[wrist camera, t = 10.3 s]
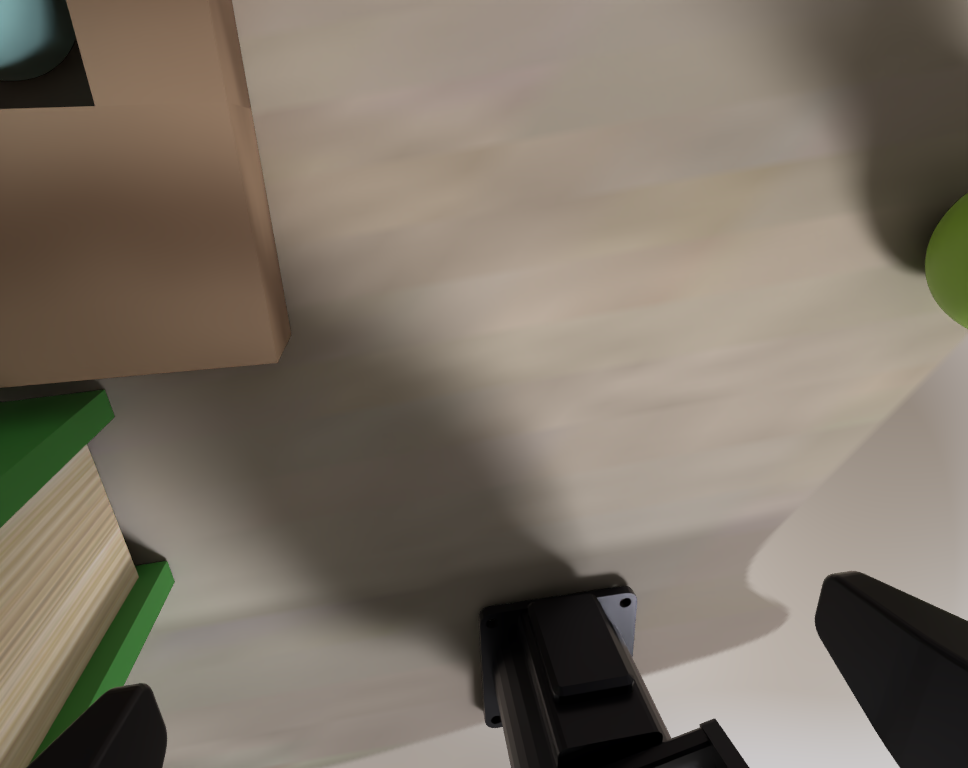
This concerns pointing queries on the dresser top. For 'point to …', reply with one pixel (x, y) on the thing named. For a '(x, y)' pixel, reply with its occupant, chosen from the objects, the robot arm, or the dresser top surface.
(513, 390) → the dresser top surface
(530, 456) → the dresser top surface
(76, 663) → the hardback book
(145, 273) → the rail
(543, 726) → the robot arm
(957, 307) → the snail figurine
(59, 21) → the teal peg
